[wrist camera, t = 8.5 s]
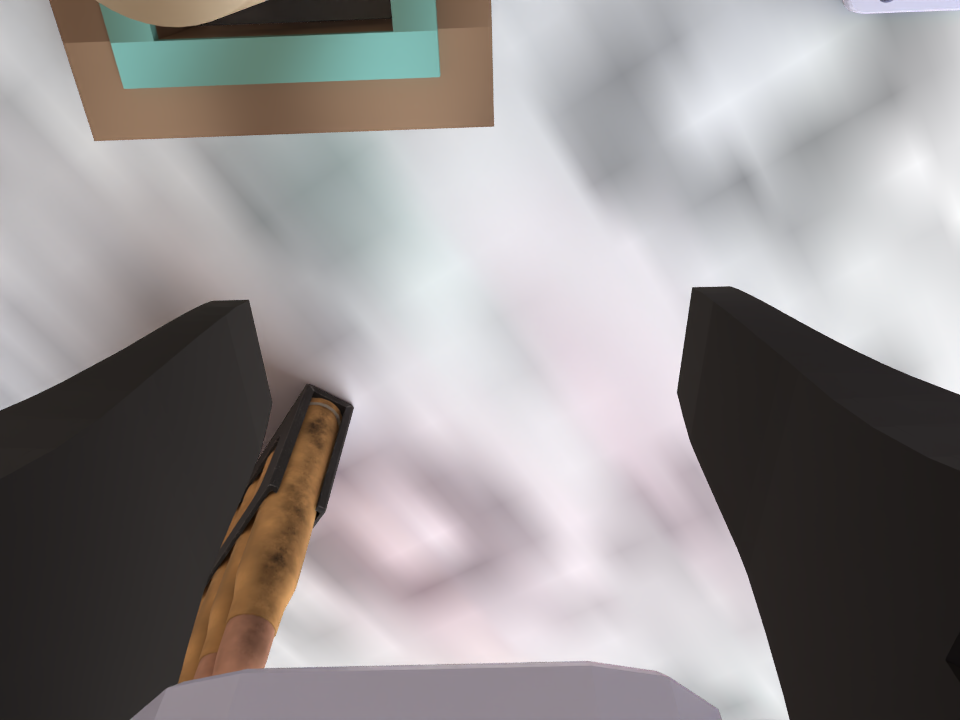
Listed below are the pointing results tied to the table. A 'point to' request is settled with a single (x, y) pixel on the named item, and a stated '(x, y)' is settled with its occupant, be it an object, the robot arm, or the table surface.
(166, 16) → the peg
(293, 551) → the ammunition clip
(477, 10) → the rail
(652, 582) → the table surface
